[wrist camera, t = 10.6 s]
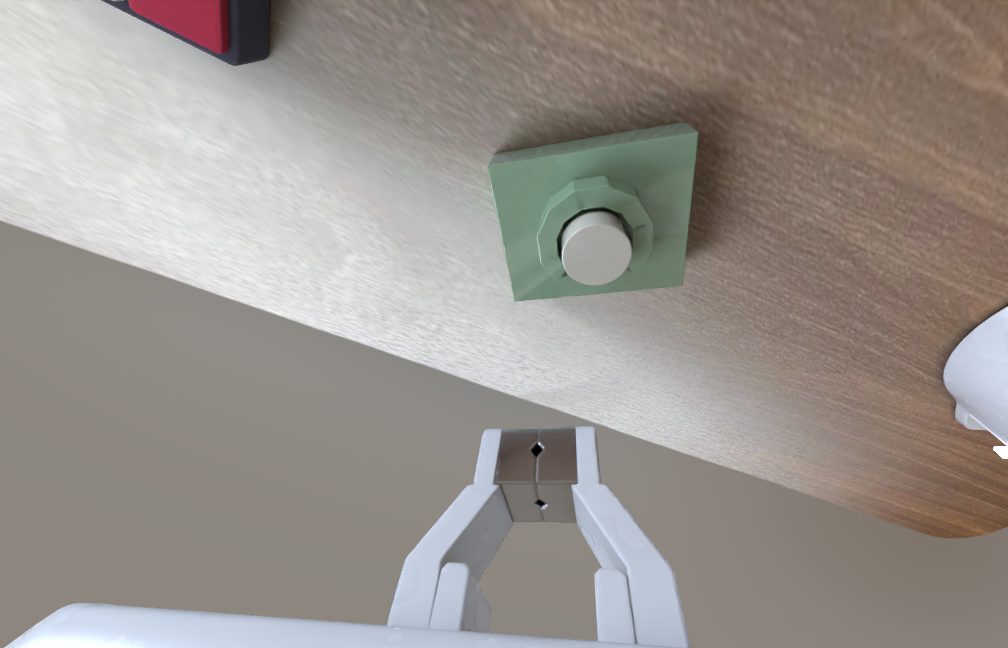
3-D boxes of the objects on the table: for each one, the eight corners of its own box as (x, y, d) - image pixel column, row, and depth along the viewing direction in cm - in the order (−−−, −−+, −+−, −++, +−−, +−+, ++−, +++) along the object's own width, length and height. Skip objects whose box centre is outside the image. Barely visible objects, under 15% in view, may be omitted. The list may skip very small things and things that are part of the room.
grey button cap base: (684, 121, 24) (710, 140, 20) (672, 265, 29) (690, 302, 26) (493, 153, 26) (482, 176, 22) (517, 281, 32) (512, 317, 28)
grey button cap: (627, 205, 22) (632, 219, 21) (626, 265, 25) (631, 282, 23) (558, 215, 23) (558, 229, 22) (564, 272, 26) (564, 289, 24)
